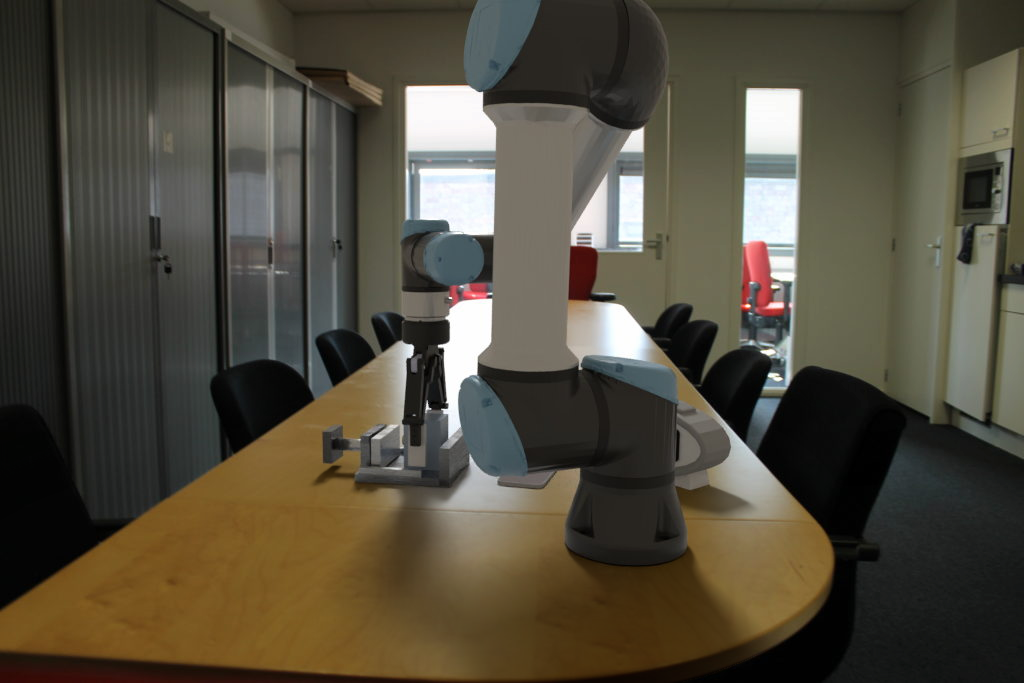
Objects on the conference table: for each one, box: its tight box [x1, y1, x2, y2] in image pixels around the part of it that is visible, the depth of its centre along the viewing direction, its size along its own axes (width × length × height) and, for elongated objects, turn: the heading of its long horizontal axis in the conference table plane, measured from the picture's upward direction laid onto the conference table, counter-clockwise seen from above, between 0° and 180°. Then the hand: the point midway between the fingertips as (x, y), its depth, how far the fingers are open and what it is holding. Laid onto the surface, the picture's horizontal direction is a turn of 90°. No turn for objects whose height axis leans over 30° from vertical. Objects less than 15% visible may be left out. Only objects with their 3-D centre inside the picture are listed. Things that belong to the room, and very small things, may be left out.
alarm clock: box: [675, 398, 732, 491], centre depth 133 cm, size 23×6×13 cm, turn 40°
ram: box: [321, 423, 401, 467], centre depth 135 cm, size 10×10×5 cm
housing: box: [401, 412, 449, 471], centre depth 133 cm, size 5×7×8 cm
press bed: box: [354, 423, 471, 488], centre depth 134 cm, size 14×15×7 cm
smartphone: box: [497, 471, 557, 489], centre depth 134 cm, size 7×1×15 cm
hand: (426, 456), depth 133 cm, fingers open, 10 cm apart
